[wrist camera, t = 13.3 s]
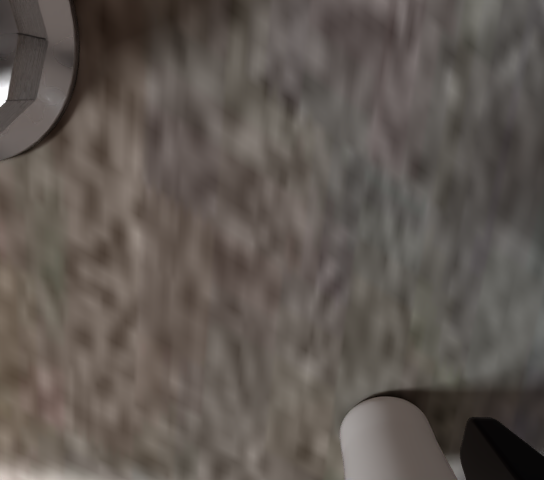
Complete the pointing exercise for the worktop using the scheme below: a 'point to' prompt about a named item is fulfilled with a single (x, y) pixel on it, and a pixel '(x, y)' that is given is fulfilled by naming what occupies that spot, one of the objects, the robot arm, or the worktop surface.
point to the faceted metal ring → (35, 69)
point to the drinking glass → (391, 443)
